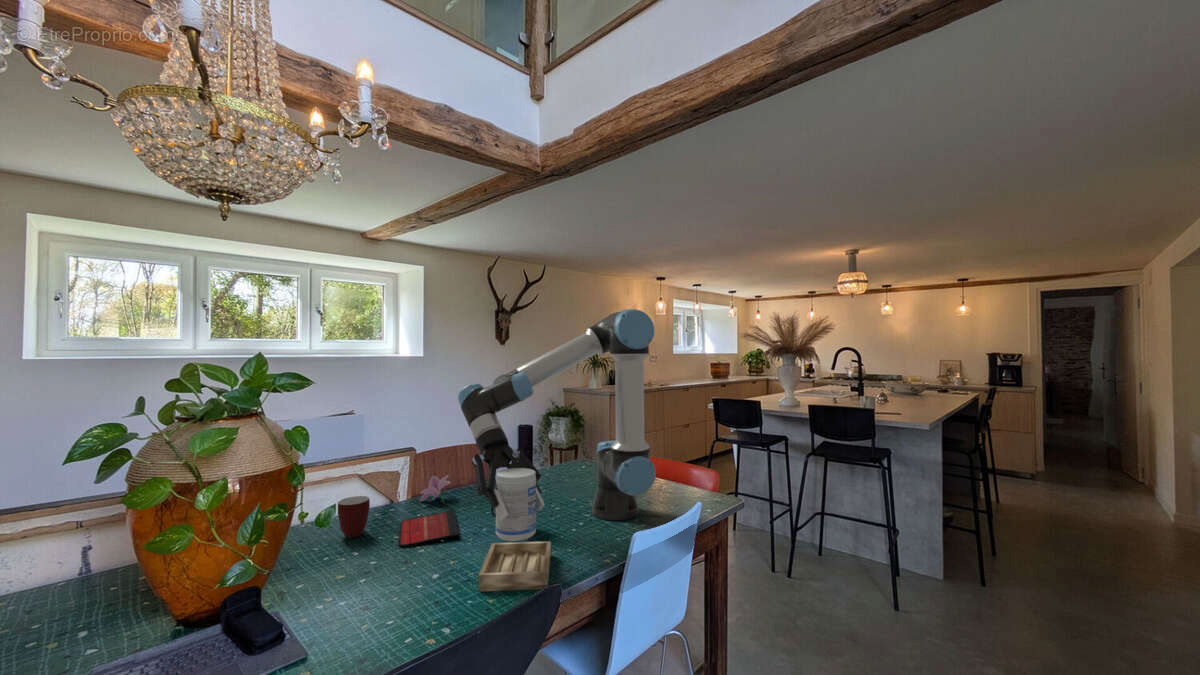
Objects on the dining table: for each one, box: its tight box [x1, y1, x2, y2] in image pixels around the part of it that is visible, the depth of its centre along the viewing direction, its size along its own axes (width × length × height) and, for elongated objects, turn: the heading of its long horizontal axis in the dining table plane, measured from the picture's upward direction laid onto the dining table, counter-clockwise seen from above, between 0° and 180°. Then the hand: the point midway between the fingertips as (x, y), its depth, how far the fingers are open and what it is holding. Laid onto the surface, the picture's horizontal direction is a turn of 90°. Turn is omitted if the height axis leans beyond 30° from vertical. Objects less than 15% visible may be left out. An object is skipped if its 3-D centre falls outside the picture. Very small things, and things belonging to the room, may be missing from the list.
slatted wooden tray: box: [478, 540, 552, 593], centre depth 110 cm, size 15×17×4 cm
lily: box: [419, 474, 451, 504], centre depth 162 cm, size 12×12×10 cm
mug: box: [337, 495, 371, 538], centre depth 133 cm, size 11×8×10 cm
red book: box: [397, 509, 461, 549], centre depth 136 cm, size 16×2×21 cm
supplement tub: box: [495, 468, 537, 542], centre depth 110 cm, size 10×10×15 cm
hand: (523, 512), depth 108 cm, fingers closed on supplement tub, 9 cm apart
